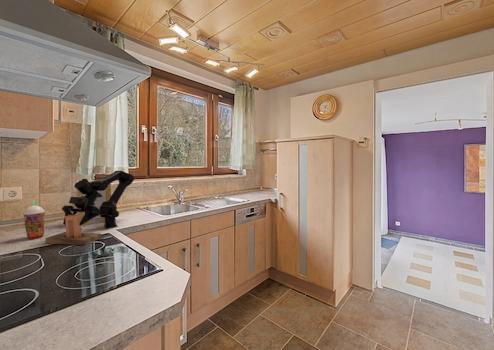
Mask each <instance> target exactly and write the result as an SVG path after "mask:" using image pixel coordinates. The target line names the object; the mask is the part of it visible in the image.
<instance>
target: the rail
mask: <svg viewBox="0 0 494 350" xmlns="http://www.w3.org/2000/svg"><path fill="white" fill-rule="evenodd" d="M100 239H102V233H99V232H97V233H96V232H82V236H80V237H77V238H74V236H71V237H66V231H62V232H61V233H58V234H53V235H52V236H48V237H45V243H46V244H55V245H57V244H58V245H77V246H78V245H79V246H86V245H88V244H91V243H93V242H96V241H98V240H100Z"/></svg>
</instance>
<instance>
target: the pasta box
mask: <svg viewBox="0 0 494 350" xmlns="http://www.w3.org/2000/svg"><path fill="white" fill-rule="evenodd" d="M87 180H88V179H87ZM95 180H96V179H89V180H88V181H89V183H91V182H92V181H95ZM79 181H80V180H76V183H77V182H79ZM76 183H75V184H76ZM111 184H112V183H110V184H109V185H108V187H107V188H106V189H105V190H104V191H98V192H99V193H101V197H97V199H96V200H95V202H94V203H95V205H94V206H96V207H97V208H98V209H100V206H101V205H102V203H103V202H104V201H105V202H107V201H108V200H109V199H110V197H111V196H112V187H111ZM81 196H85V194H81V193H80V192H79V191H78V190H77V189H76V197H81ZM92 206H93V205H92ZM77 215H81V220H82V218H83V217H84V215H85V212H77ZM97 224H105V217H101V215H99V216H96V217H94V218H92V219H90V220H89V221H87V222H86V223H84V224H83V225H81V227H83V226H84V227H85V226H90V225H97Z"/></svg>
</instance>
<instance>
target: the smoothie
mask: <svg viewBox="0 0 494 350" xmlns="http://www.w3.org/2000/svg"><path fill="white" fill-rule="evenodd" d="M35 203H36V202H35V199H33V200H32V205H30V206H28V207H27V208H26V209H25V210H24V212H23V222H24V226H25V234H26V237H27V238H28V240H36V239H41V238H43V237H44V235H45V218H46V217H45V215H46V211H45V210H44V208H43V207H41V206H39V205H35Z"/></svg>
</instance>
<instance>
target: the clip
mask: <svg viewBox="0 0 494 350" xmlns="http://www.w3.org/2000/svg"><path fill="white" fill-rule="evenodd" d="M64 218H65V222H66V225H65V232H66V237H71V236H74V238H77V237H80V236H82V233H83V231H82V226H81V225H79V224H80V222H81V215H78V214H75V215H67V216H65V215H64Z"/></svg>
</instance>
